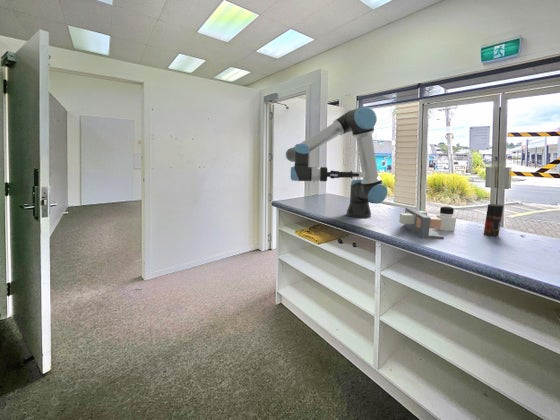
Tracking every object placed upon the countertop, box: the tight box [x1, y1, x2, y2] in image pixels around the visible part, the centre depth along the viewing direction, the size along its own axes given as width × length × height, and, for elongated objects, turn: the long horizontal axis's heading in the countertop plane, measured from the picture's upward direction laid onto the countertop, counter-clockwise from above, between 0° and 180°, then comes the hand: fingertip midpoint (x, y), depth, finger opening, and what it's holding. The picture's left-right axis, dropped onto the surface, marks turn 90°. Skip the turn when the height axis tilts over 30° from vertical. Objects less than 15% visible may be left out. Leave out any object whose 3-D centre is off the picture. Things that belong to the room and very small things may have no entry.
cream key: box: [399, 212, 416, 225], centre depth 145 cm, size 10×4×4 cm, turn 85°
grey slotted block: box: [403, 207, 445, 240], centre depth 145 cm, size 10×25×10 cm, turn 175°
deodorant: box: [483, 203, 504, 237], centre depth 139 cm, size 6×6×15 cm
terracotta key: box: [416, 216, 442, 230], centre depth 137 cm, size 10×4×4 cm, turn 85°
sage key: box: [406, 210, 428, 216], centre depth 153 cm, size 10×4×4 cm, turn 85°
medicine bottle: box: [436, 205, 457, 232], centre depth 150 cm, size 7×7×12 cm
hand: (364, 174), depth 150 cm, fingers closed
